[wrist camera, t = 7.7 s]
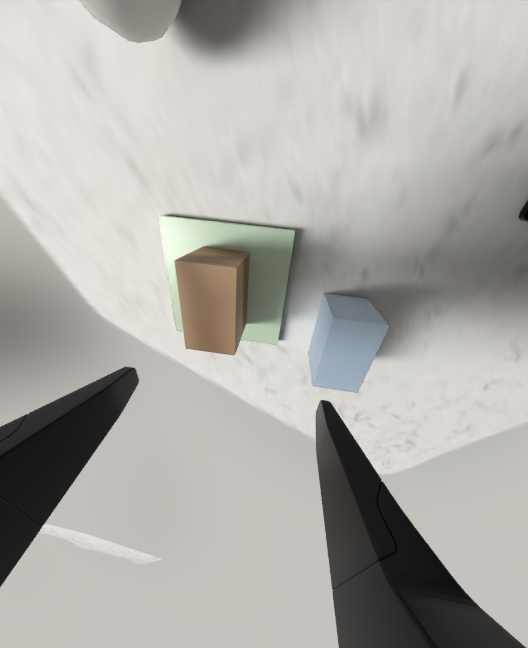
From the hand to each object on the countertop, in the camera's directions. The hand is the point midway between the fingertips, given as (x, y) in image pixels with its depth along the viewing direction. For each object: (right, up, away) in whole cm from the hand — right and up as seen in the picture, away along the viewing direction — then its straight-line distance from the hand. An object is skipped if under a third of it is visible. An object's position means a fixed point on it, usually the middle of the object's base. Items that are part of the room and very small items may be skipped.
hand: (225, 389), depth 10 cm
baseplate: (-2, +7, +10) cm, 12 cm away
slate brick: (+9, +3, +11) cm, 14 cm away
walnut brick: (-2, +6, +9) cm, 11 cm away
